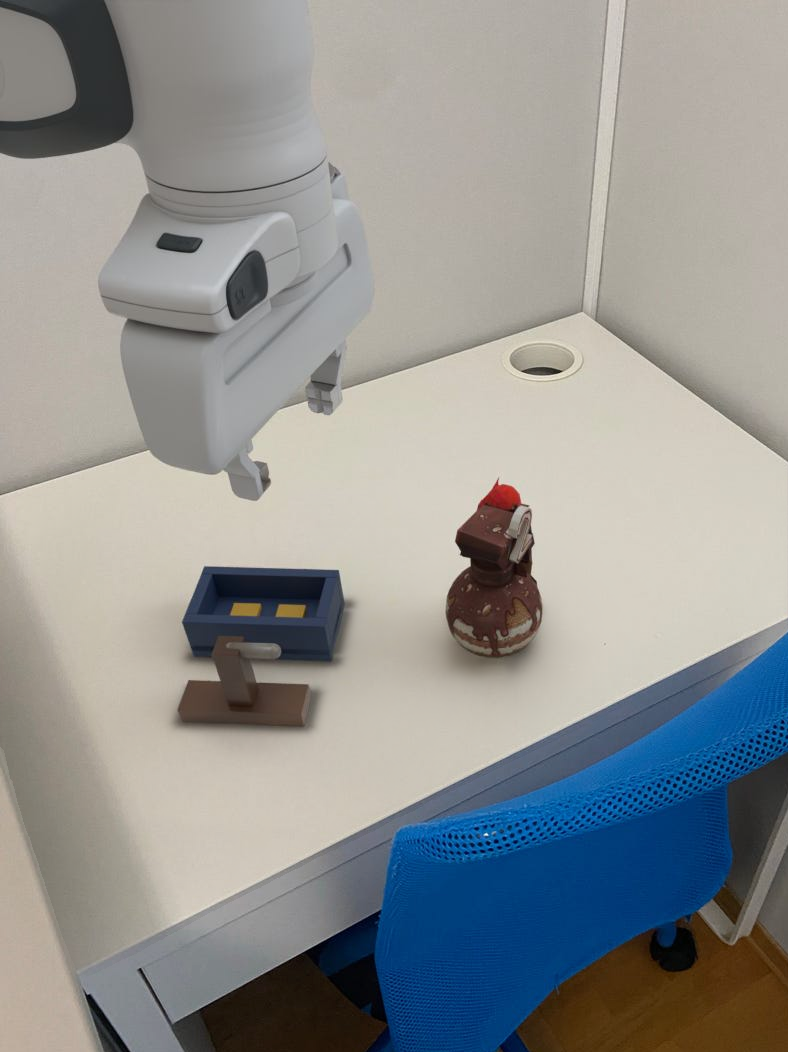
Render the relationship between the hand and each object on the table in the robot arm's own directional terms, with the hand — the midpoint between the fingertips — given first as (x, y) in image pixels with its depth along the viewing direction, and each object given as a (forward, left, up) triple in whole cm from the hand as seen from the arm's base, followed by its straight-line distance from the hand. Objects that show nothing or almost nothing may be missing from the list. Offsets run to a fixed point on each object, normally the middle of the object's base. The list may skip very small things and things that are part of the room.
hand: (291, 448), depth 58 cm
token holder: (-8, +9, -25) cm, 28 cm away
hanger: (-8, 0, -25) cm, 27 cm away
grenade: (+12, +9, -26) cm, 30 cm away
